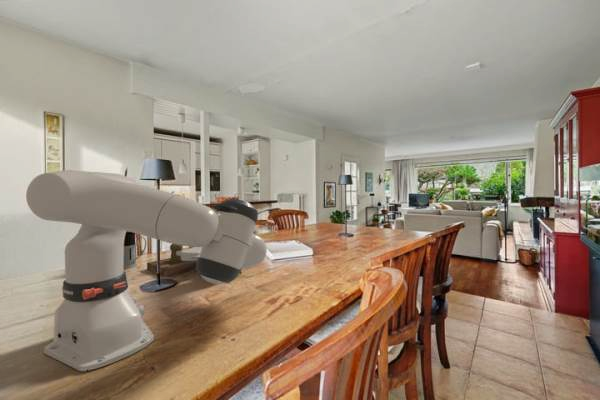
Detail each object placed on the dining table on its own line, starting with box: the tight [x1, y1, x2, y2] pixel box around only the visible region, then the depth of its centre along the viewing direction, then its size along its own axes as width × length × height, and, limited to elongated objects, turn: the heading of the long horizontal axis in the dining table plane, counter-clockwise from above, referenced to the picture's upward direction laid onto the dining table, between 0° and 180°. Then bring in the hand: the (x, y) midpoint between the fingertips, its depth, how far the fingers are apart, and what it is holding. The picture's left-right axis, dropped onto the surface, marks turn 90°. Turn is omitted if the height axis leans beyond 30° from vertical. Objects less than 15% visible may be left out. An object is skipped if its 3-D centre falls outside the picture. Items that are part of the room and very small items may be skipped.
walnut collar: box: [146, 257, 197, 277], centre depth 118 cm, size 16×16×3 cm
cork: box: [169, 243, 184, 265], centre depth 118 cm, size 6×6×11 cm
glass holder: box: [124, 231, 147, 270], centre depth 120 cm, size 9×14×15 cm, turn 84°
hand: (183, 250), depth 117 cm, fingers open, 8 cm apart
